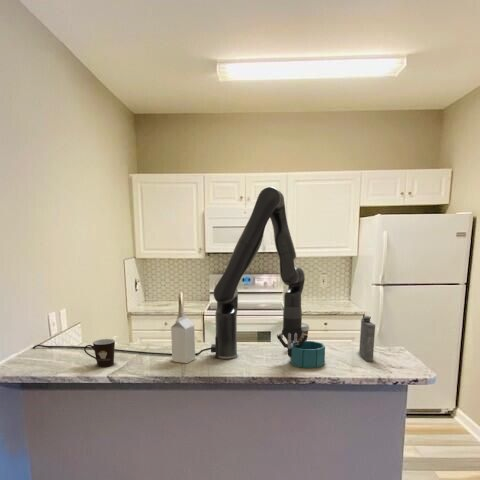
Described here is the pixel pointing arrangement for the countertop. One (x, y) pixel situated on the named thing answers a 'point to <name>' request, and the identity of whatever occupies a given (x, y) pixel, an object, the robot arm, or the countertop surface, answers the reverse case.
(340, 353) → the countertop surface
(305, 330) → the disposable coffee cup
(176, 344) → the milk carton
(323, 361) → the teal octagonal bowl
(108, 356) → the coffee mug
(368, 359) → the flask
